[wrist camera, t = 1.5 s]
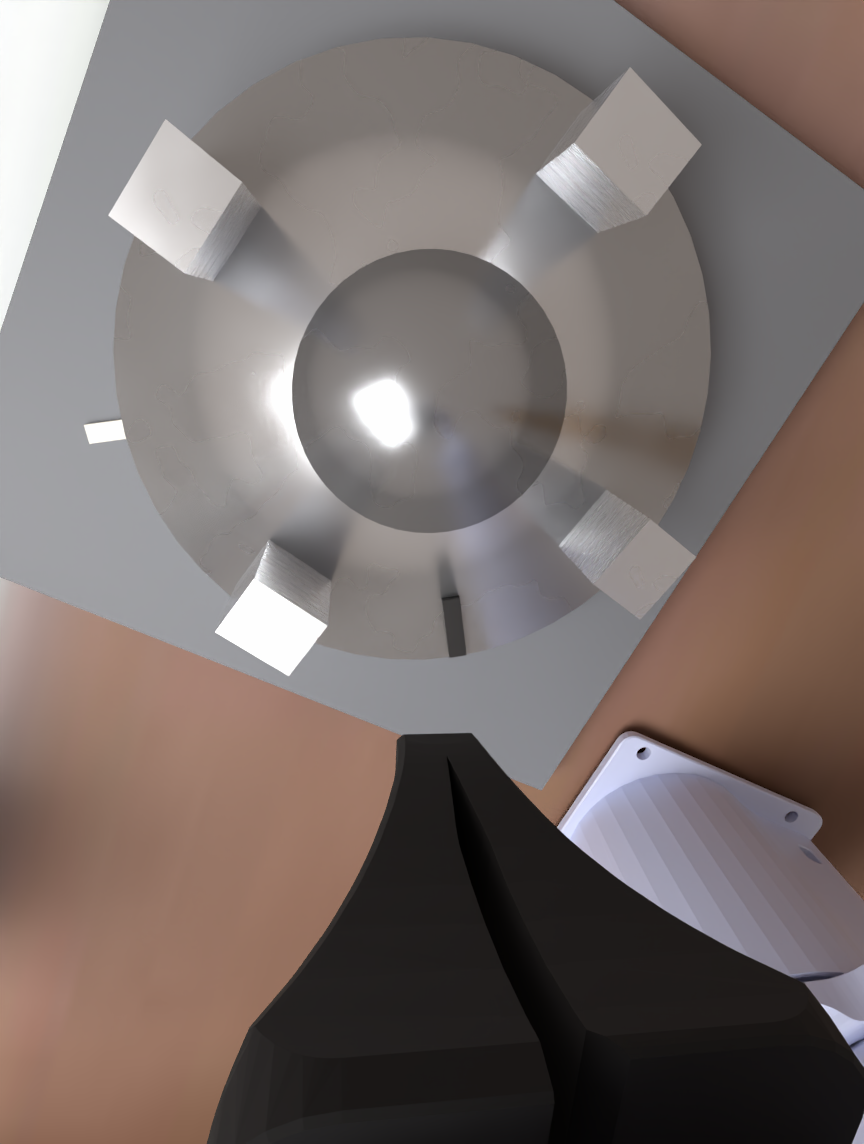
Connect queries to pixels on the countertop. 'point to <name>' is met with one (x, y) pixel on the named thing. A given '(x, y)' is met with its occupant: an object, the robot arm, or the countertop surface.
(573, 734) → the cap plate
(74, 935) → the countertop surface
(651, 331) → the domed lug disc
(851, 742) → the countertop surface
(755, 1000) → the robot arm
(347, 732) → the countertop surface
